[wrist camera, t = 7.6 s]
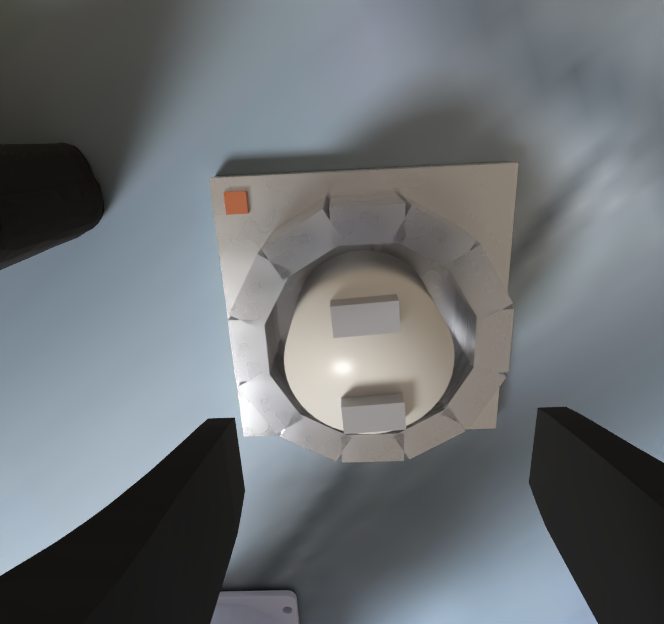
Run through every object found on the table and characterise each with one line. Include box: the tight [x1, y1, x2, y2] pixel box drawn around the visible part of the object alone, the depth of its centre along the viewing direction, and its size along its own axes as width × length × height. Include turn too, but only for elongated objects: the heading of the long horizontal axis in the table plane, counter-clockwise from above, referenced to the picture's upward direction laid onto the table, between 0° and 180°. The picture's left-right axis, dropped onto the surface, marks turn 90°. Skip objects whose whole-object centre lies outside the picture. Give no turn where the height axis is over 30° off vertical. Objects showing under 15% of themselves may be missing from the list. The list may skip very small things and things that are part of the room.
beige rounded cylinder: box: [284, 250, 455, 434], centre depth 17 cm, size 5×5×5 cm
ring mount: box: [209, 162, 519, 463], centre depth 18 cm, size 11×11×4 cm
